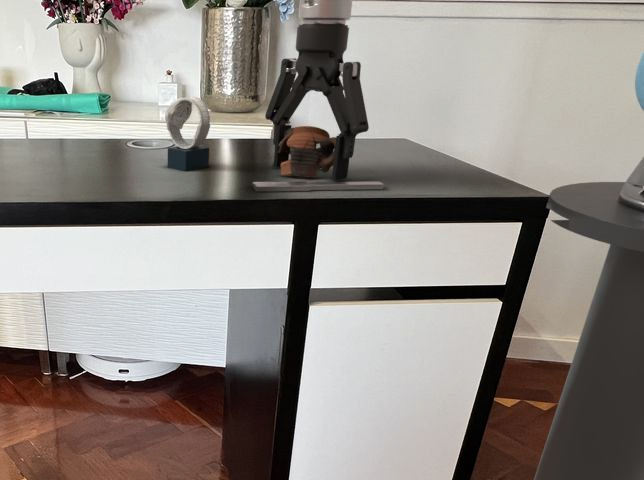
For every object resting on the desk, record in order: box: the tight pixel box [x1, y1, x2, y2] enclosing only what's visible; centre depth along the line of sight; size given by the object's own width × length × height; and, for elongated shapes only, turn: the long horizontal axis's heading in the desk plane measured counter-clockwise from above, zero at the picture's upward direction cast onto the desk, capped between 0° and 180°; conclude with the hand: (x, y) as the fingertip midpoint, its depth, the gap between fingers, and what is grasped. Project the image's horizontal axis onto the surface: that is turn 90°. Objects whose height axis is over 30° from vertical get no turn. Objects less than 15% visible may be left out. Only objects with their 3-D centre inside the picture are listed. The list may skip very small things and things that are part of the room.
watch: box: [164, 96, 211, 172], centre depth 105 cm, size 6×8×11 cm
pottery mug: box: [278, 125, 336, 179], centre depth 102 cm, size 12×10×8 cm
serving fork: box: [252, 181, 385, 193], centre depth 93 cm, size 19×3×1 cm, turn 94°
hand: (308, 172), depth 103 cm, fingers closed on pottery mug, 12 cm apart
